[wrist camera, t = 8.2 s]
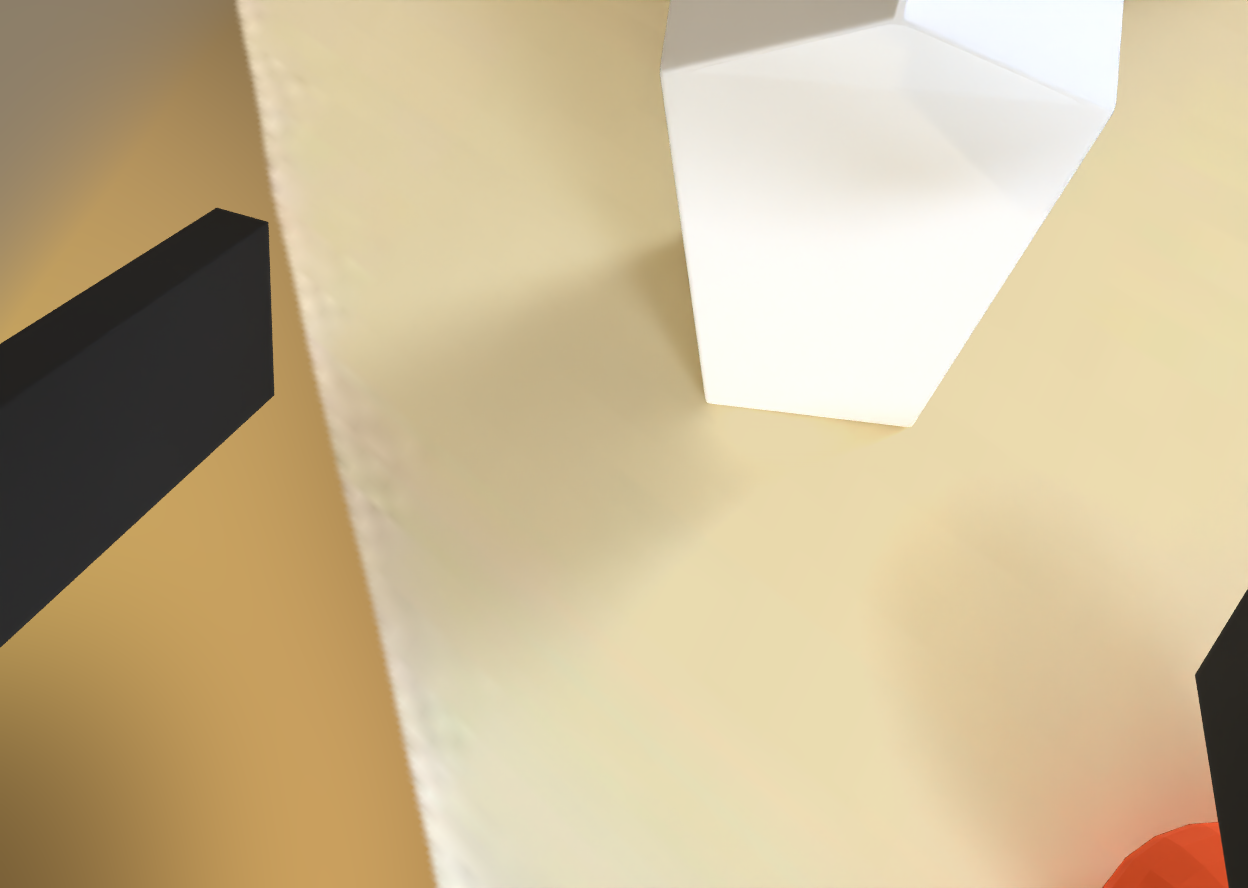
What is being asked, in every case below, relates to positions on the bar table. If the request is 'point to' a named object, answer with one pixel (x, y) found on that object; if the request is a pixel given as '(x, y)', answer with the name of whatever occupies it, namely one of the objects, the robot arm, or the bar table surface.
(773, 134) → the milk
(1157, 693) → the bar table surface
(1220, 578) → the bar table surface
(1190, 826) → the clementine
